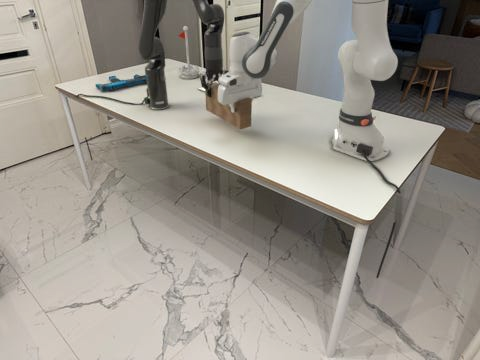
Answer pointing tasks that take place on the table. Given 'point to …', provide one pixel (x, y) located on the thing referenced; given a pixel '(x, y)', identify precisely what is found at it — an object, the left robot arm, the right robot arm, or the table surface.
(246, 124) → the box
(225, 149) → the table surface
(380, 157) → the right robot arm
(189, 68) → the flag stand
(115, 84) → the submachine gun
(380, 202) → the table surface
